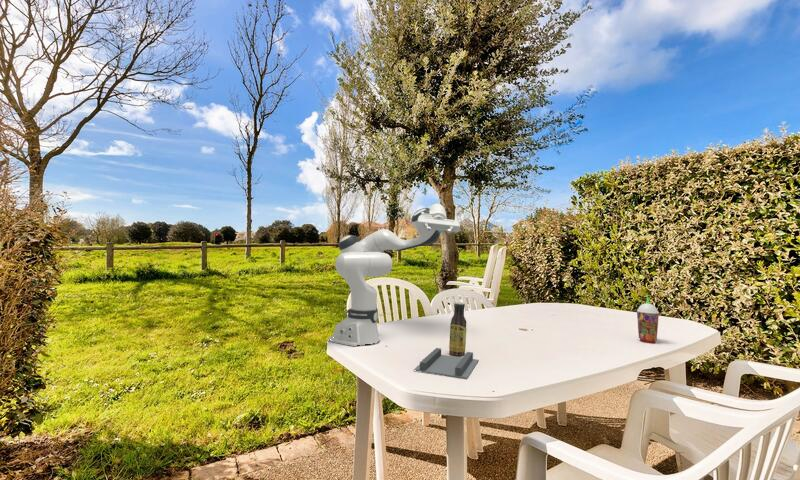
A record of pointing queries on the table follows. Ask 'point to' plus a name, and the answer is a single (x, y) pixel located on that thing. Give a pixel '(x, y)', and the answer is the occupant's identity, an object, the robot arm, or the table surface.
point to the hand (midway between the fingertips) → (438, 230)
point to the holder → (448, 364)
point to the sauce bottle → (458, 331)
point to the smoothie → (647, 322)
